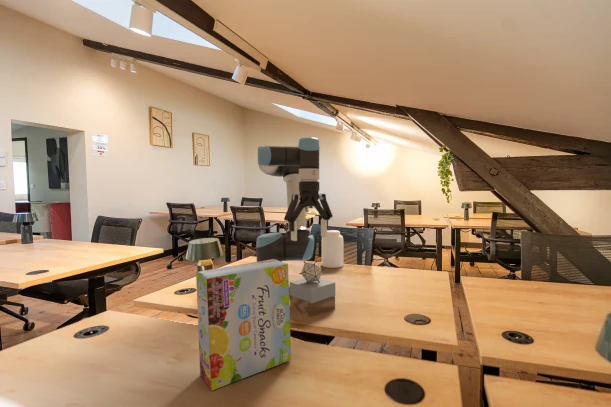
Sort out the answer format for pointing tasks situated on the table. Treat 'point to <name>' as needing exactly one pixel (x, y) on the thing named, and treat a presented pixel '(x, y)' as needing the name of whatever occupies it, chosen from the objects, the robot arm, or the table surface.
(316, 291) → the tower top
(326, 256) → the white plastic jar
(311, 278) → the game die
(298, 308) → the tower base
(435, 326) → the table surface
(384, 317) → the table surface
